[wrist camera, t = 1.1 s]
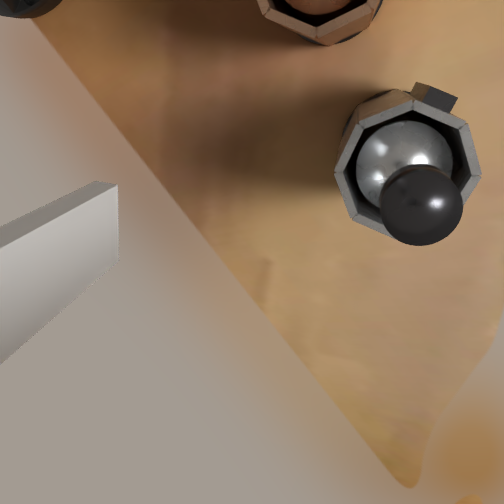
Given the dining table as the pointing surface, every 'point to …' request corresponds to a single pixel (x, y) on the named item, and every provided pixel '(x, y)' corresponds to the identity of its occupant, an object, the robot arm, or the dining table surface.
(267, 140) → the dining table surface
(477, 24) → the dining table surface
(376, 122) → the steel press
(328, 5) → the copper press plunger
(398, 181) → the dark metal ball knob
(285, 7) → the copper press
